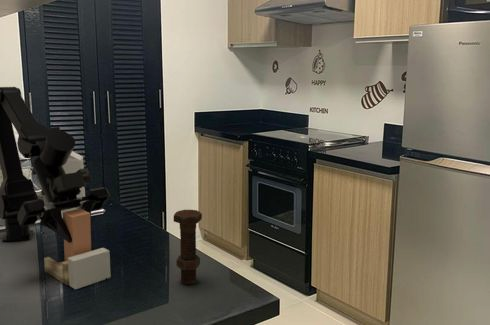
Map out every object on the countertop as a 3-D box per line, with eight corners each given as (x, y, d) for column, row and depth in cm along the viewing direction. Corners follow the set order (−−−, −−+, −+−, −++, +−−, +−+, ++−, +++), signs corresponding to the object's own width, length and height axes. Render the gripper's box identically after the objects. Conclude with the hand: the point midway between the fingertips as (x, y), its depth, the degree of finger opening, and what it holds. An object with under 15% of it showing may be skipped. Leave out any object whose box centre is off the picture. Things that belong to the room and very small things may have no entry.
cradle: (44, 271, 103) (43, 251, 102) (83, 259, 110) (82, 241, 109) (66, 285, 96) (65, 264, 96) (106, 272, 103) (105, 252, 102)
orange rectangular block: (64, 265, 102) (62, 212, 99) (82, 260, 104) (80, 208, 102) (74, 271, 99) (72, 217, 96) (91, 266, 102) (90, 213, 99)
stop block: (69, 285, 97) (67, 257, 96) (104, 273, 103) (103, 247, 101) (75, 289, 95) (73, 261, 94) (110, 277, 101) (109, 250, 100)
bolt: (196, 289, 96) (195, 218, 93) (172, 286, 97) (171, 216, 94) (204, 277, 101) (203, 209, 99) (181, 275, 102) (180, 208, 100)
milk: (86, 219, 139) (83, 145, 135) (84, 226, 133) (80, 148, 129) (64, 220, 138) (60, 145, 134) (61, 227, 132) (56, 149, 128)
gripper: (18, 163, 93) (47, 230, 88) (103, 152, 106) (133, 209, 101) (5, 194, 100) (32, 258, 94) (87, 180, 113) (114, 235, 108)
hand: (80, 239), depth 99 cm, fingers closed on orange rectangular block, 4 cm apart
